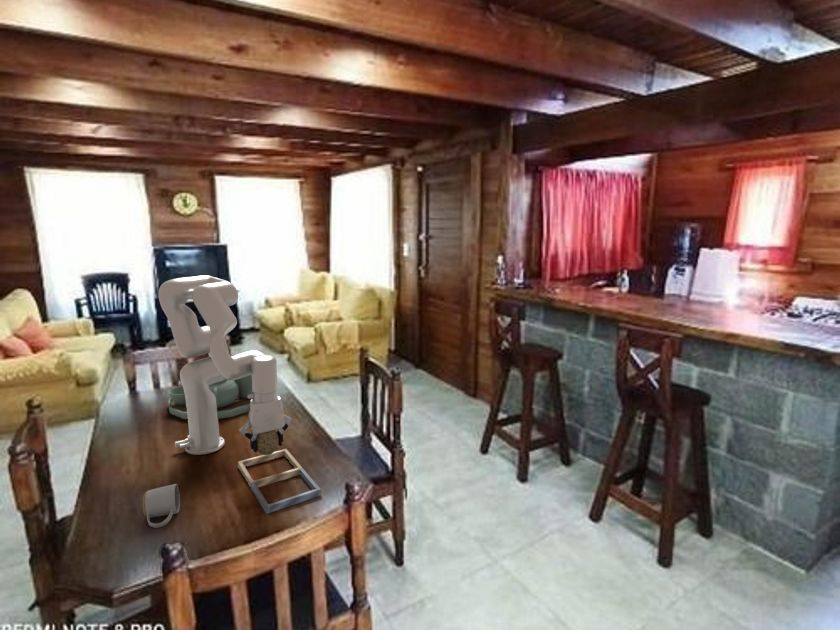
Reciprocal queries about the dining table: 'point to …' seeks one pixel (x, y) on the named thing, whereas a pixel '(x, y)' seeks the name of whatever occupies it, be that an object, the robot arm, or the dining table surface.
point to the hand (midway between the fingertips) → (267, 447)
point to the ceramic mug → (161, 503)
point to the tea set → (217, 398)
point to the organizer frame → (278, 477)
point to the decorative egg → (267, 442)
